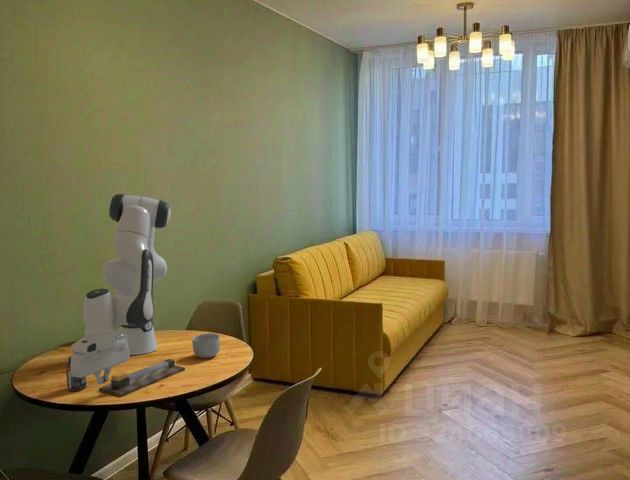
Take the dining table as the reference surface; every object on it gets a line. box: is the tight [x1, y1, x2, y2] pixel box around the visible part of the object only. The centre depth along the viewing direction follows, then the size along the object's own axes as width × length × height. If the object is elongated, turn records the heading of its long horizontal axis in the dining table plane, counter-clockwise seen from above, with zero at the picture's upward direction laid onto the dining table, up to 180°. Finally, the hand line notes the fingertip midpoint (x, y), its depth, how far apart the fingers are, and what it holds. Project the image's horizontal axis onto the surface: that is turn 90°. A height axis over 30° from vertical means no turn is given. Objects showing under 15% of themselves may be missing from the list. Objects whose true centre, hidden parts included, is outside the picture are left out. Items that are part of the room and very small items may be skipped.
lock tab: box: [111, 371, 128, 381], centre depth 183 cm, size 4×3×1 cm
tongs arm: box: [127, 358, 176, 381], centre depth 195 cm, size 21×3×1 cm, turn 150°
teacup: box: [191, 332, 221, 359], centre depth 220 cm, size 14×11×8 cm
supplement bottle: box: [65, 354, 87, 392], centre depth 185 cm, size 6×6×11 cm
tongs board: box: [98, 362, 186, 398], centre depth 192 cm, size 29×11×4 cm, turn 150°
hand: (102, 382), depth 177 cm, fingers closed
